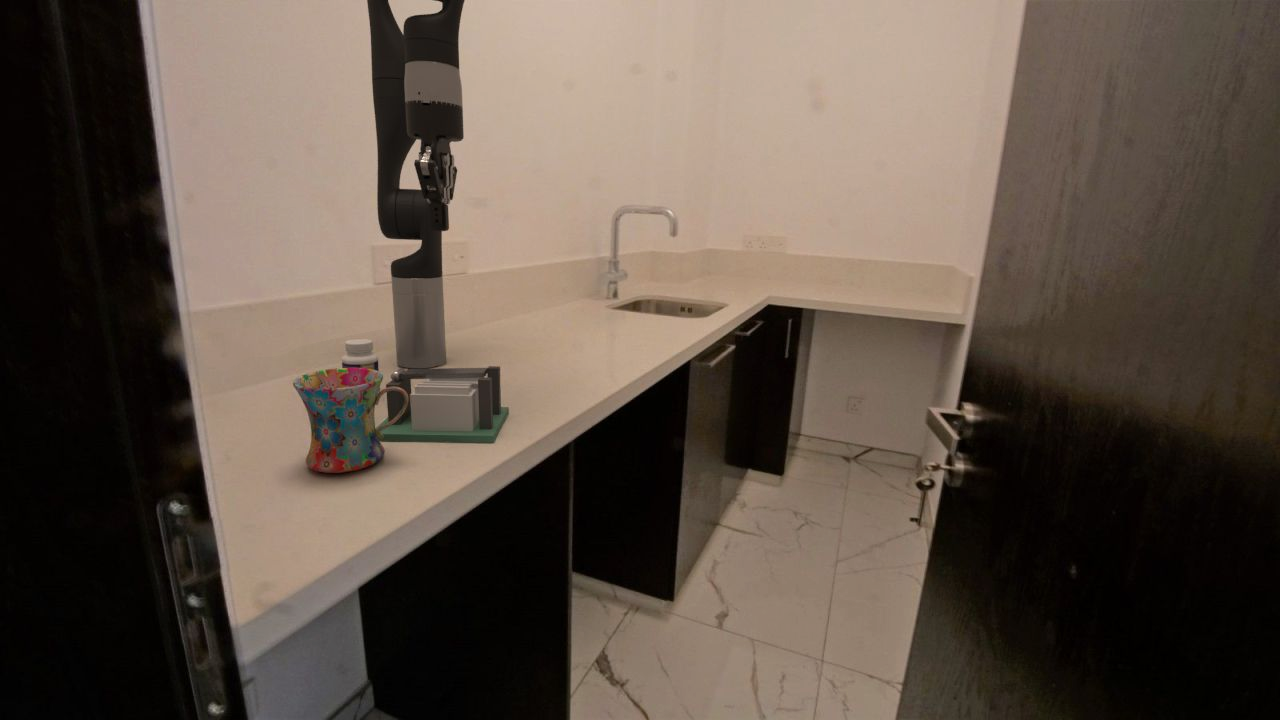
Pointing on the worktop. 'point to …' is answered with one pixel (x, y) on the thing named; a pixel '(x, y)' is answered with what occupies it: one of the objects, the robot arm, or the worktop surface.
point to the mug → (343, 417)
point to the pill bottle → (360, 355)
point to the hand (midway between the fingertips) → (440, 230)
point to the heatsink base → (446, 410)
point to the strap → (439, 373)
